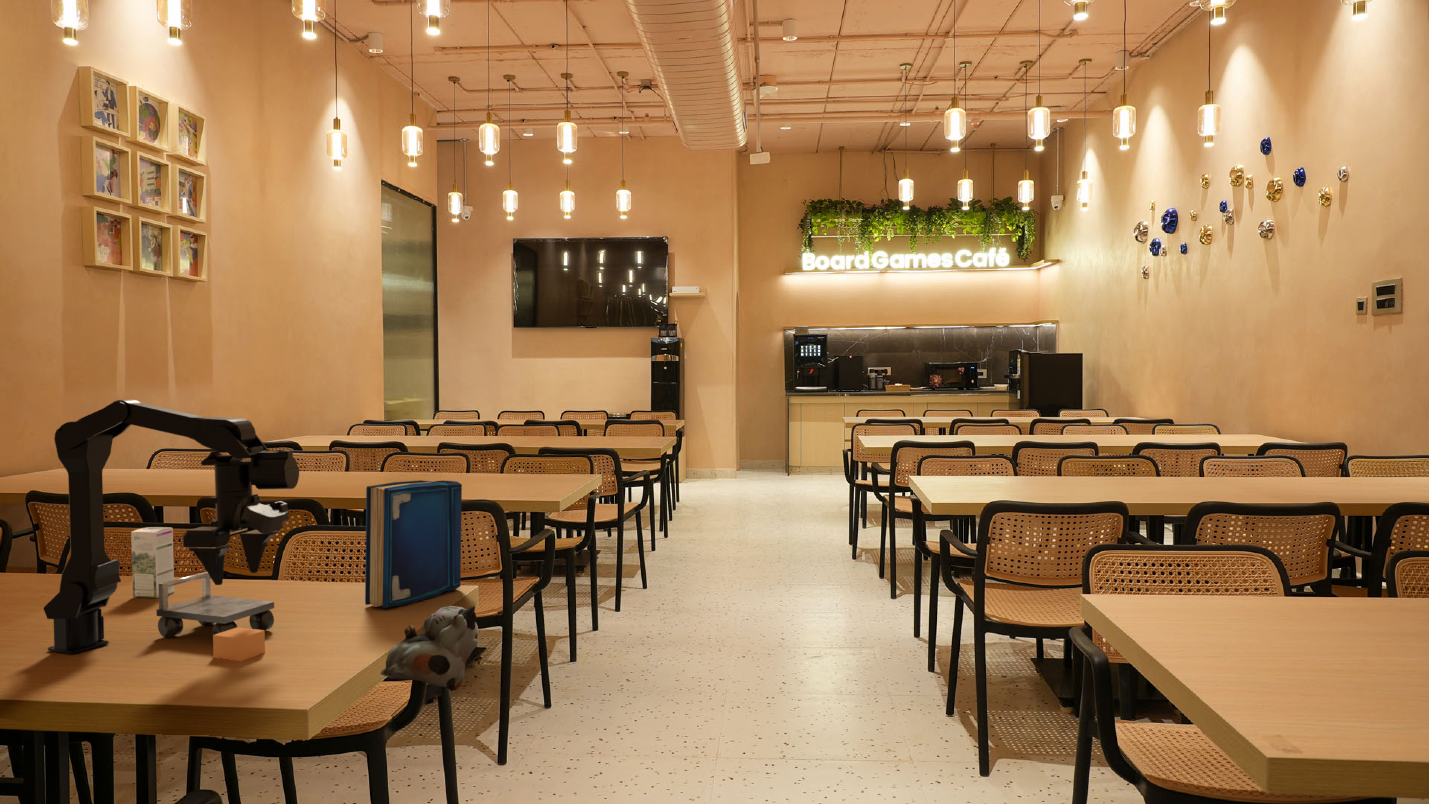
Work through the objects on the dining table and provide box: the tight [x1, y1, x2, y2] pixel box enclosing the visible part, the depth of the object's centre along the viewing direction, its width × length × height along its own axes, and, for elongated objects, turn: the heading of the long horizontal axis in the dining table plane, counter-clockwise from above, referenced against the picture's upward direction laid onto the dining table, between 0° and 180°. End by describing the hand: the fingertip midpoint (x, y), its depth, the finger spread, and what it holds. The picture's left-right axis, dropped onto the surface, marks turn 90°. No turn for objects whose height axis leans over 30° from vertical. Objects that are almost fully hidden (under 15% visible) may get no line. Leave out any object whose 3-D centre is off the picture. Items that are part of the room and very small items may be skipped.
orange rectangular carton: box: [212, 626, 266, 662], centre depth 151 cm, size 5×6×4 cm
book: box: [364, 480, 463, 609], centre depth 189 cm, size 22×7×25 cm, turn 149°
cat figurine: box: [380, 605, 479, 692], centre depth 138 cm, size 15×12×14 cm
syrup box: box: [130, 526, 175, 599], centre depth 193 cm, size 6×6×14 cm
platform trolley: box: [156, 571, 275, 639], centre depth 163 cm, size 11×17×10 cm, turn 71°
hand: (236, 578), depth 156 cm, fingers open, 9 cm apart
